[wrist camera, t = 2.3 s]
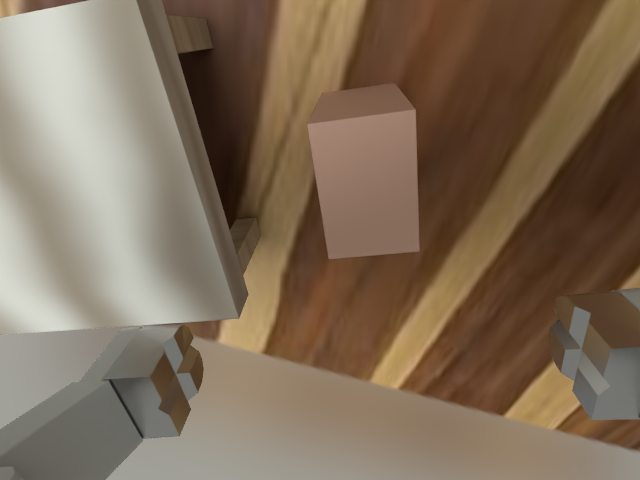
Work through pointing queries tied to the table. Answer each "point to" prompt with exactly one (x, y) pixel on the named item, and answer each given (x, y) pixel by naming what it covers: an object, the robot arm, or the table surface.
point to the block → (366, 171)
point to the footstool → (109, 175)
